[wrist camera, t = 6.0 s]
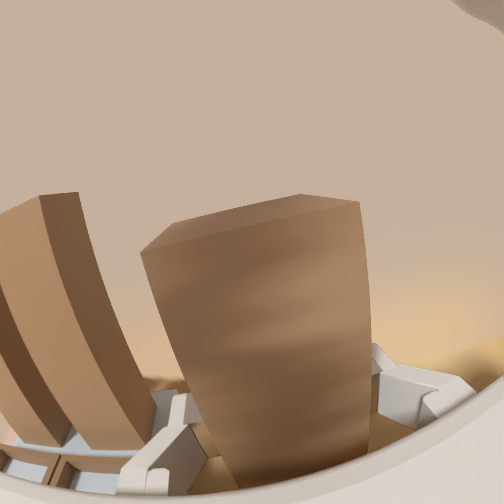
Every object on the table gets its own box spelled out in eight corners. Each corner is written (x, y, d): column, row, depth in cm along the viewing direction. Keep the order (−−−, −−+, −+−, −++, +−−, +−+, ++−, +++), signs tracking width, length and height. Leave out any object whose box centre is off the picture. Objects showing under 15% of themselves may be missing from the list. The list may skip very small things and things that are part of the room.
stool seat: (188, 412, 19) (107, 185, 15) (182, 587, 5) (-117, 209, 2) (55, 420, 18) (-26, 241, 14) (2, 537, 5) (-160, 300, 1)
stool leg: (333, 464, 12) (300, 194, 9) (357, 519, 8) (358, 201, 5) (262, 483, 12) (172, 223, 9) (273, 542, 8) (139, 252, 5)
